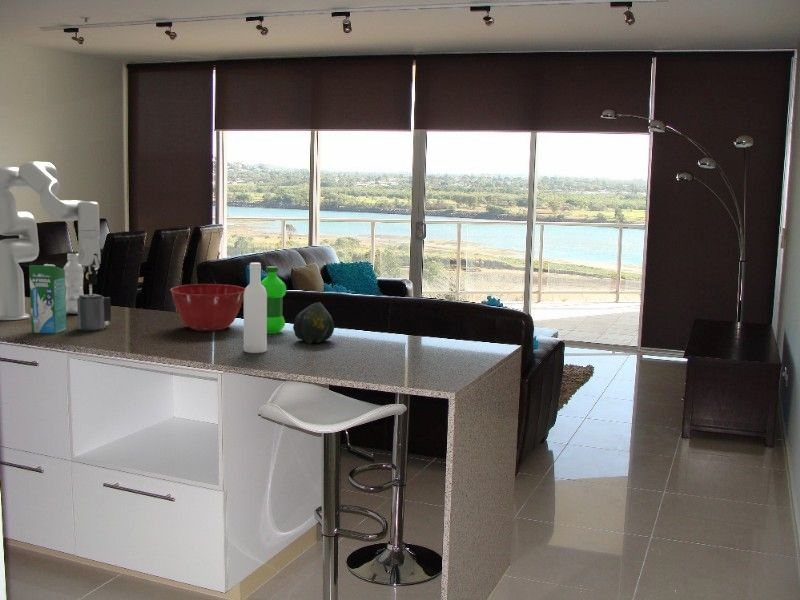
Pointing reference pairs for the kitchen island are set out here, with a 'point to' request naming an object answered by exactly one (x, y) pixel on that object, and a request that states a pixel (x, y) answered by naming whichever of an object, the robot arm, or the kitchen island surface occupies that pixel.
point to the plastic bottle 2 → (274, 300)
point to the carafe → (93, 312)
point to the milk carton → (47, 299)
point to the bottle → (255, 313)
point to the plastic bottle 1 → (73, 282)
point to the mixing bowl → (208, 305)
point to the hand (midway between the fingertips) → (90, 283)
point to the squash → (314, 324)
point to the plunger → (89, 286)
